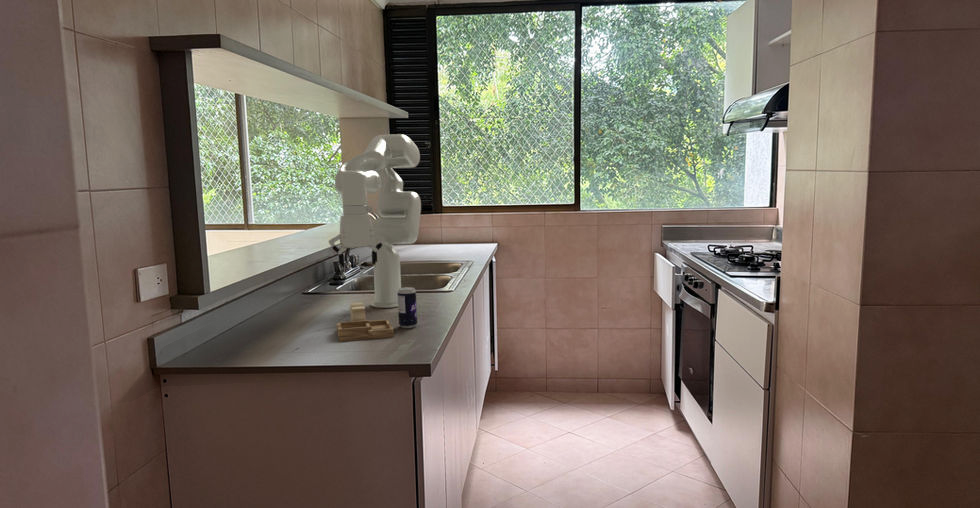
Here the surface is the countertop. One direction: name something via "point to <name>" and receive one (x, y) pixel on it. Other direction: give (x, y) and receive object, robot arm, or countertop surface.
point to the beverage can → (407, 307)
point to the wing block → (357, 311)
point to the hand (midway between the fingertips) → (358, 265)
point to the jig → (364, 330)
